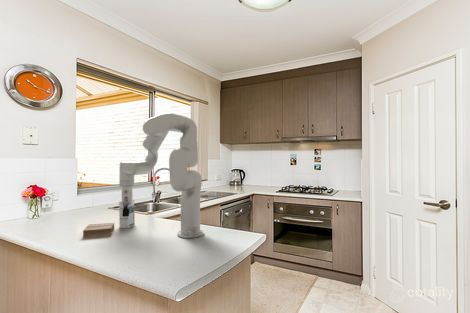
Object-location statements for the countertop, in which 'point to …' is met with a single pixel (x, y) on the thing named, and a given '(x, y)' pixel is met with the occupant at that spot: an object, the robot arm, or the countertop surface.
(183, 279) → the countertop surface
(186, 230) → the robot arm
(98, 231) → the walnut block
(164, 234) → the countertop surface
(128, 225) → the syrup box
